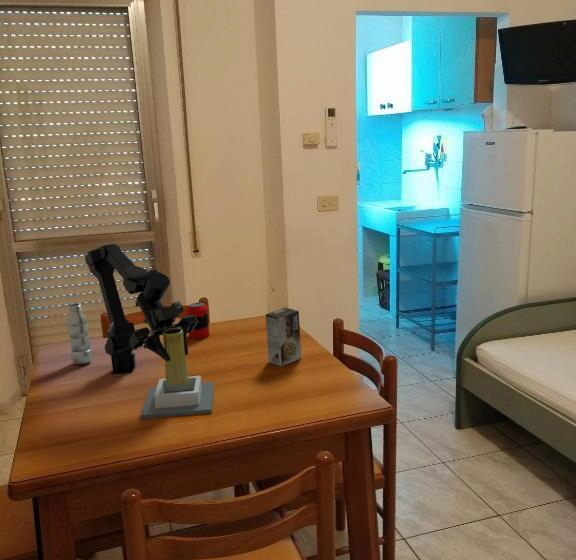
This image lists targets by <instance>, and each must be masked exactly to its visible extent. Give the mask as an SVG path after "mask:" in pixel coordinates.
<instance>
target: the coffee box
mask: <svg viewBox="0 0 576 560" xmlns="http://www.w3.org/2000/svg"><path fill="white" fill-rule="evenodd" d="M265 324H266V326H265V327H266V328H265V329H266V340H267V357H268V358H267V359H268V363H270V364H273V365H276V366H278V367H284V366H286V365H289V364H291V363H293V362H295V361H298V360H301V359H302V344H301V327H300V326H301V325H300V311H299V310H297V309H293V308H290V307H283V308H280V309H277V310H274V311H270V312H269V313H265Z"/></svg>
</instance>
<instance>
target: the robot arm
mask: <svg viewBox="0 0 576 560" xmlns="http://www.w3.org/2000/svg"><path fill="white" fill-rule="evenodd" d="M84 261H85V265H86V266H87V267H88V270H89V272H90V273H91V274H92V275H93V276H94V277H95V278H96V279H97V282H98V284H99V285H98V286H99V288H100V292H101V295H102V299H103V302H104V307H105V309H106V313H107V317H108V321H109V326H108V330H107V331H106V332H107V340H106V342H105V344H104V349H105V353H106V354H107V355H109V356H110V359H111V367H112V370H111V374H113V375H115V374H125V373H126V374H128V373H133V372H134V369H135V368H136V366H137V360H136V354H135V353H134V350H135V351H136V350H138V349H140V348H141V347H143V349H148V350H150V351H151V352H153V353H154V354H157V356H159V357H161V359H163V360H164V361H165V360H166V361H169V357H168V354H167V352H166V351H165V349H164V344H163V343H162V342H161V337H160V336H163V331H164V330H166V329H170V328H180V329H182V330H183V337H184V349H185V356H188V355H189V349H188V343H187V342H188V340H187V335H189V333H190V332H192V331H193V329H194V328H195V326H196V325H197V323H198V320H197V319H196V317H195V316H193V315H190V316H187V315H185V316H183V317H181V318H180V319H179V321H178V323H175V321H176V317H180V315H181V313H183V312H184V307H183V304H182V303H181V301H180V300H179V301H174V302H172V303H171V305H169V306H167V305H163V303H162V302H161V300H162V299H163V298H164V296H165V294H166V292H167V291H168V288H169V286H170V283H171V281H170V277H168V276H167V275H166V274H164V273H162V272H159V271H158V270H157V269H156V268H155V269H150V270H148V269H146V268H144V267H141V266H137V265H136V264H135V263H134V262H133V261H132V260H131V259H130V258H129V256H127V255H126V253H124V252H123V251H122V250H121V247H120V245H119V244H117V243H109V244H103V245H101V246H100V247H98V248H96V249H93V250H89V251H88V252H87V253H86V254H85V256H84ZM115 271H116V272H117V273H118V274H119V275H120V276H121V278H122V286H123V287H124V290H125V291H126V292H127V293H128V294H129V295H135V294H138V295H137V296H136V301H135V307H136V308H137V307H139V308H140V310H141V312H142V314H143V316H144V324H147V325H148V326H149V327H146V326H144V327H142V328H138V329H136V328H135V324H134V323H133V322H132V321H129V320H127V318H126V316H125V312H124V307H123V305H122V301H121V298H120V295H119V291H118V287H117V283H116V280H115V276H114V272H115ZM173 323H174V324H173Z"/></svg>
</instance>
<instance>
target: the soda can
mask: <svg viewBox="0 0 576 560" xmlns="http://www.w3.org/2000/svg"><path fill="white" fill-rule="evenodd" d="M190 315H193V316H195V317H196V319H197V320H198V323H197V325H196V326H195V328H194V329H193V331H192V332H190V333H188V337H189V338H190V339H193V340H200V339H205V338H208V337H209V335H210V324H209V322H210V321H209V313H208V306H207V305H206V304H205V303H204V302H192V303H190V304H188V306H187V308H186V316H190Z"/></svg>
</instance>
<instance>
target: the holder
mask: <svg viewBox="0 0 576 560" xmlns="http://www.w3.org/2000/svg"><path fill="white" fill-rule="evenodd" d="M188 378H189V380H188V381H187V382H186V383H184V384H181V385H168V384H167V383H166V378H159V380H158V383H157V386H156V385H155V386H150V388H149V390H148V394H147V396H146V399H145V401H144V405H143V407H142V409H141V414H140V419H141V420H144V419H153V418H155V419H156V418H166V417H177V416H180V417H181V416H189V415H190V416H191V415H201V414H202V415H203V414H212V413H213V403H214V391H215V381H207V382H206V381H205V382H202V377H201V375H195V376H194V375H193V376H188Z"/></svg>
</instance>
